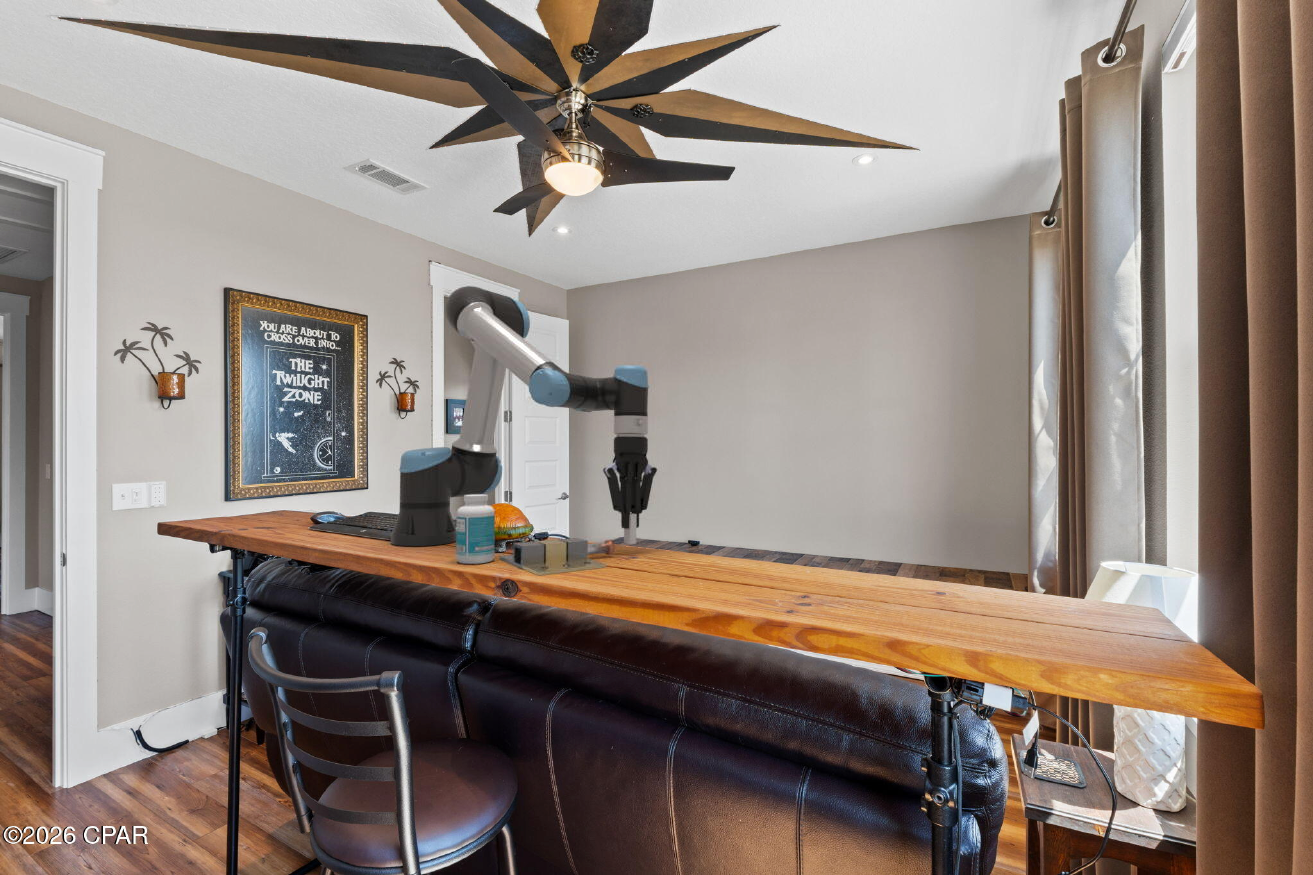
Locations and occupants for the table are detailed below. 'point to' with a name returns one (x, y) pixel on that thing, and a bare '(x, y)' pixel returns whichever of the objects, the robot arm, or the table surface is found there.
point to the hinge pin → (601, 547)
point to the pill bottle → (475, 531)
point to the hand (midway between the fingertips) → (630, 543)
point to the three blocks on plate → (552, 556)
